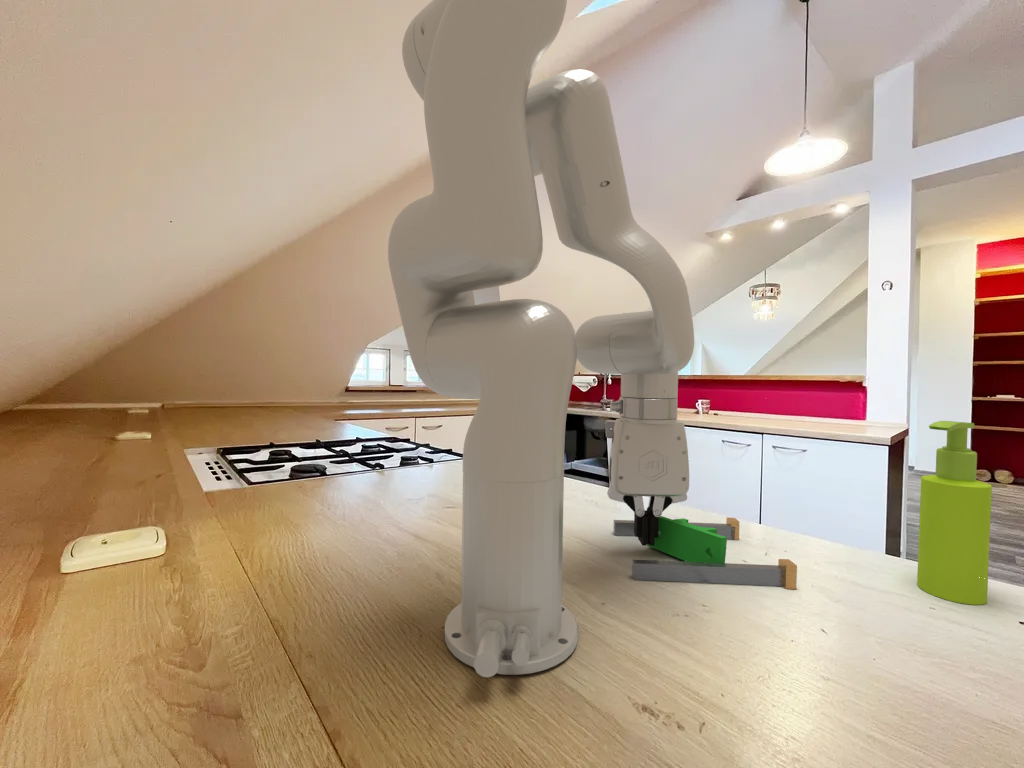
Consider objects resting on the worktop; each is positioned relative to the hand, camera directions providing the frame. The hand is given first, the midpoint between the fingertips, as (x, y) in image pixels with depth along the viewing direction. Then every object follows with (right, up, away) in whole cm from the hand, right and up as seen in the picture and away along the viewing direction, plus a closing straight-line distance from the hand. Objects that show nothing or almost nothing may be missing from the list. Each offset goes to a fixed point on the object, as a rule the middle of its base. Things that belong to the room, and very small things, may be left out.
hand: (645, 541), depth 64 cm
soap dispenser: (+32, -3, -10) cm, 34 cm away
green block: (+5, -2, -2) cm, 6 cm away
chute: (+6, -2, -1) cm, 6 cm away
